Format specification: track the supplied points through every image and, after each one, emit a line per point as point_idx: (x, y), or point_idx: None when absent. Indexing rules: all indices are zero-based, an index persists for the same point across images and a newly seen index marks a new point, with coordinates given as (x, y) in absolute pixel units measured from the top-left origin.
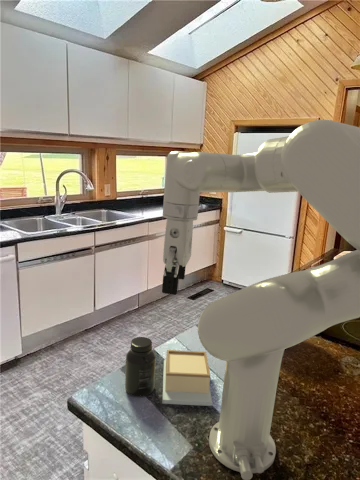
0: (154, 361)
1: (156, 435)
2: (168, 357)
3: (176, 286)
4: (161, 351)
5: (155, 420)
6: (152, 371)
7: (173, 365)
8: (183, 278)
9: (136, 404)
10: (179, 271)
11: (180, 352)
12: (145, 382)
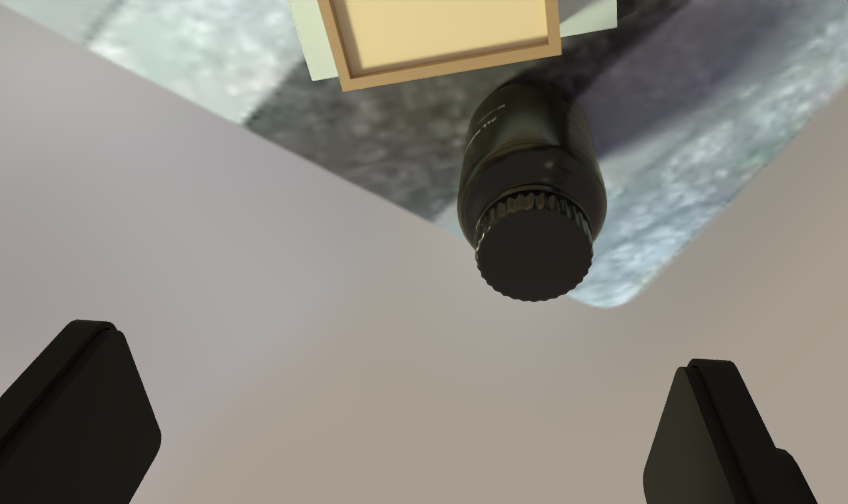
0: (550, 140)
1: (811, 7)
2: (412, 70)
3: (779, 467)
4: (231, 102)
5: (721, 30)
6: (563, 125)
7: (460, 28)
8: (112, 333)
9: (627, 125)
10: (75, 461)
11: (332, 11)
12: (587, 132)
